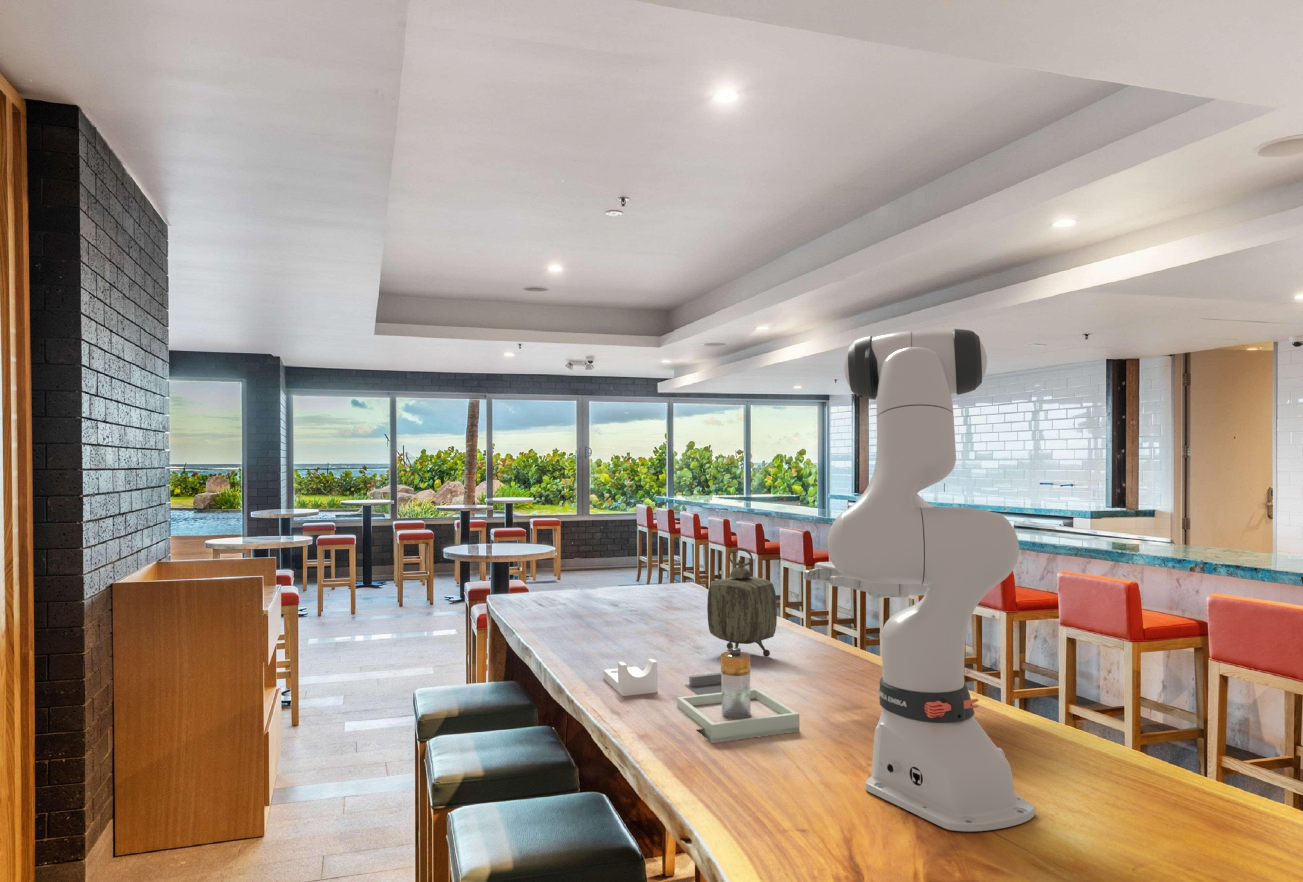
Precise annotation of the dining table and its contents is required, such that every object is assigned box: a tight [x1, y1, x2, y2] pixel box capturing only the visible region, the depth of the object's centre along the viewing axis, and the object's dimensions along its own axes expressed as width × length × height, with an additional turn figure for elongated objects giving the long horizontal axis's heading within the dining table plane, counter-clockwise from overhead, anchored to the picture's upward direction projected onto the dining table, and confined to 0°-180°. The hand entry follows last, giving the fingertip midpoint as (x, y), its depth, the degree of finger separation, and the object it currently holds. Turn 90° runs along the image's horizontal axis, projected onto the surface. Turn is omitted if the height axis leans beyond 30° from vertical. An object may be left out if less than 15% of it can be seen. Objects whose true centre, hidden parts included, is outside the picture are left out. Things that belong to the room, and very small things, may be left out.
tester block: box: [684, 672, 722, 695], centre depth 157 cm, size 10×10×3 cm
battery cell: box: [720, 647, 752, 720], centre depth 142 cm, size 5×5×12 cm
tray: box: [676, 687, 801, 744], centre depth 142 cm, size 16×16×3 cm
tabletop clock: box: [706, 547, 778, 658], centre depth 190 cm, size 14×9×25 cm, turn 47°
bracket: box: [602, 658, 659, 697], centre depth 161 cm, size 13×7×8 cm, turn 19°
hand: (818, 578), depth 152 cm, fingers open, 8 cm apart
